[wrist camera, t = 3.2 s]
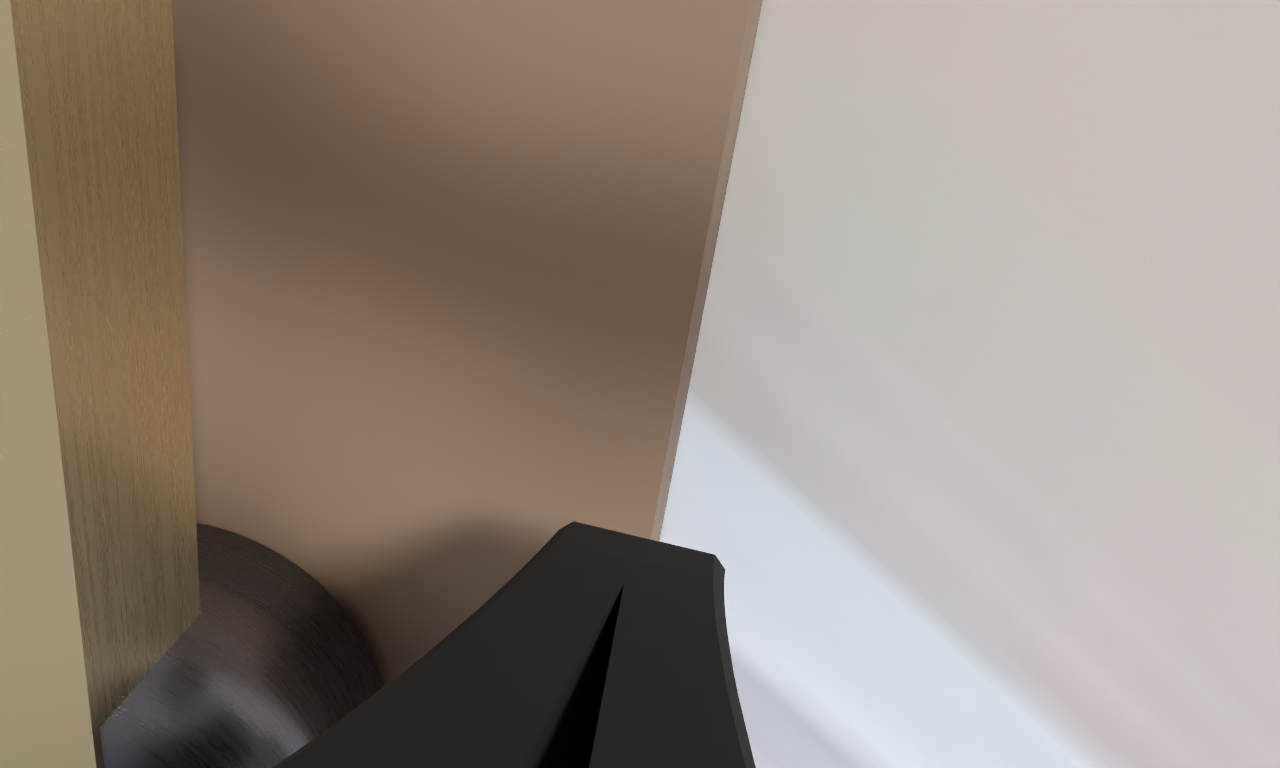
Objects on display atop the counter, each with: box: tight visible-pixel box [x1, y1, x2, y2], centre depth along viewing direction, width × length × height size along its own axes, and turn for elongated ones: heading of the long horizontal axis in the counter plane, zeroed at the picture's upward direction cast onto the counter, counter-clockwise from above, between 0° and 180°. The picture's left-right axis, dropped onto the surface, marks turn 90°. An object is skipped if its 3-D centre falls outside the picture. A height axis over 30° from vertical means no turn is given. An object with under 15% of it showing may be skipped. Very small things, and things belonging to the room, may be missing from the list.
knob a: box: [0, 0, 383, 768], centre depth 11 cm, size 11×4×3 cm, turn 171°
